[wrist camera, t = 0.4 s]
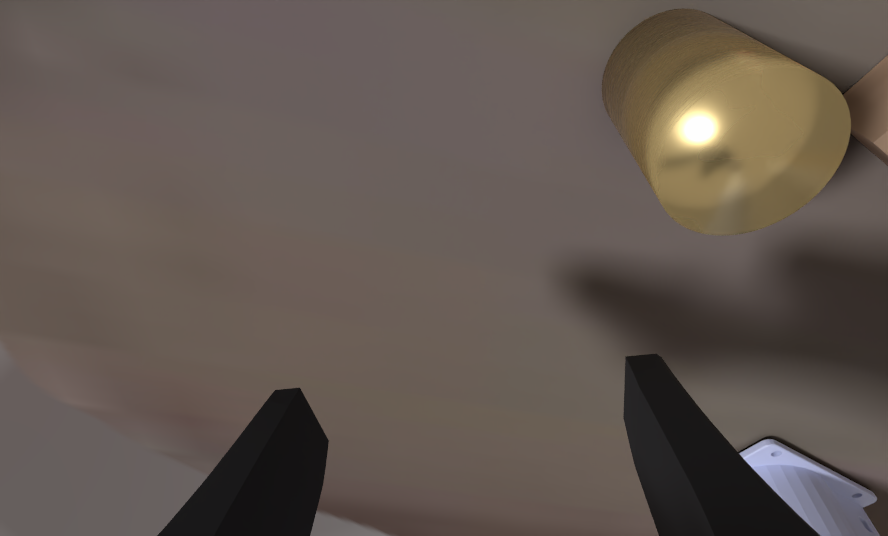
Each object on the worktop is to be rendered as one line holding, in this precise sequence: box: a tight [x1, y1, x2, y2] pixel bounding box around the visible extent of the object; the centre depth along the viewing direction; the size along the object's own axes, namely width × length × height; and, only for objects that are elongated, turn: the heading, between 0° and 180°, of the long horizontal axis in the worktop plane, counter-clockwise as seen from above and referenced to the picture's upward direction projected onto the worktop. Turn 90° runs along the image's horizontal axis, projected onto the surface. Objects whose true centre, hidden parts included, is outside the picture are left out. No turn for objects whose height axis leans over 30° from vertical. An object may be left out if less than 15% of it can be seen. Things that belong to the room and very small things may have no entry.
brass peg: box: [602, 9, 851, 235], centre depth 14 cm, size 4×4×6 cm
